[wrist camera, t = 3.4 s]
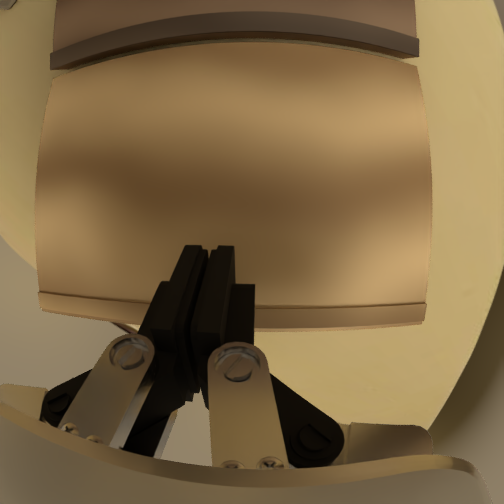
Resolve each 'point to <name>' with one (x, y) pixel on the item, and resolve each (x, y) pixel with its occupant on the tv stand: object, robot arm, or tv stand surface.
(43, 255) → the oak plank
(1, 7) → the coffee box
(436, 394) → the tv stand surface
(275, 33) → the walnut board
